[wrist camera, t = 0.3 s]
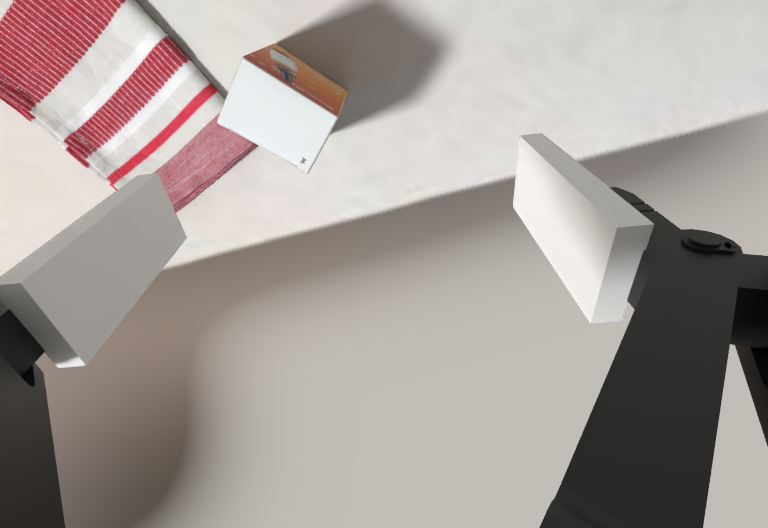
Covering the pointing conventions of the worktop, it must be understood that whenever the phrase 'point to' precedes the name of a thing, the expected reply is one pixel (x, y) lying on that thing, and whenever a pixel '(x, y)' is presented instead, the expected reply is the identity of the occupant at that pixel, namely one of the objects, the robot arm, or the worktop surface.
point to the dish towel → (115, 93)
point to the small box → (282, 105)
